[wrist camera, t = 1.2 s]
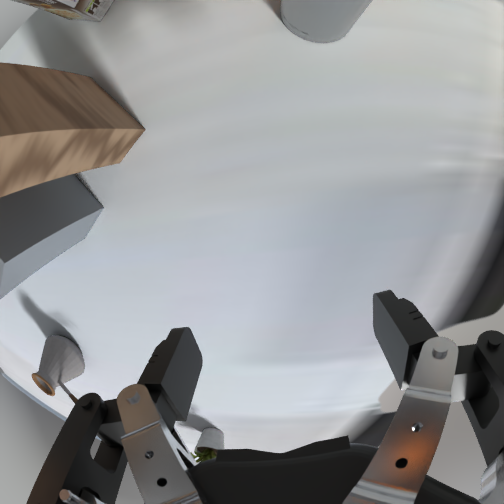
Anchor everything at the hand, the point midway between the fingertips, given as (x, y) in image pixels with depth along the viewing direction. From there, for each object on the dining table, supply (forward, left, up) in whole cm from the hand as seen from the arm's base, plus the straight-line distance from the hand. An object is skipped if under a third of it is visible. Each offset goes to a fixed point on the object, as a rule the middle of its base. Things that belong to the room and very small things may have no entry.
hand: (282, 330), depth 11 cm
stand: (+8, -26, -25) cm, 37 cm away
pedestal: (+22, -23, -25) cm, 40 cm away
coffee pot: (+52, -4, -25) cm, 58 cm away
